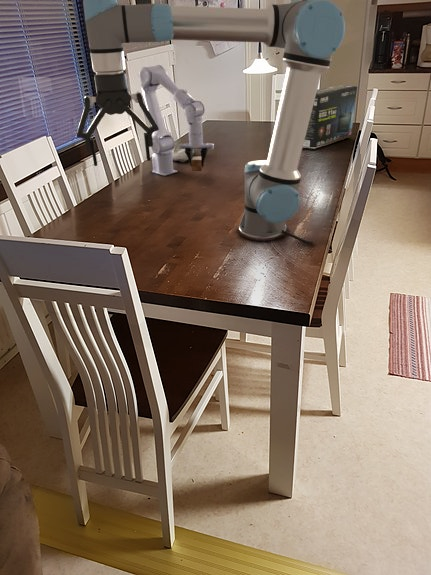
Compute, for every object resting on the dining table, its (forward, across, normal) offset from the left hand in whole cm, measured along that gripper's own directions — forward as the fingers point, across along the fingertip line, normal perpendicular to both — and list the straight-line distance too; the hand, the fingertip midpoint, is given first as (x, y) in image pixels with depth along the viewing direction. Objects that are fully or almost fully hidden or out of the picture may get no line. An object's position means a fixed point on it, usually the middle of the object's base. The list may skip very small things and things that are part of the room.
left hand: (197, 166), depth 196 cm
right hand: (-24, +4, +77) cm, 81 cm away
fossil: (+6, +16, -33) cm, 38 cm away
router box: (+6, -57, -64) cm, 86 cm away
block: (+1, 0, 0) cm, 1 cm away
